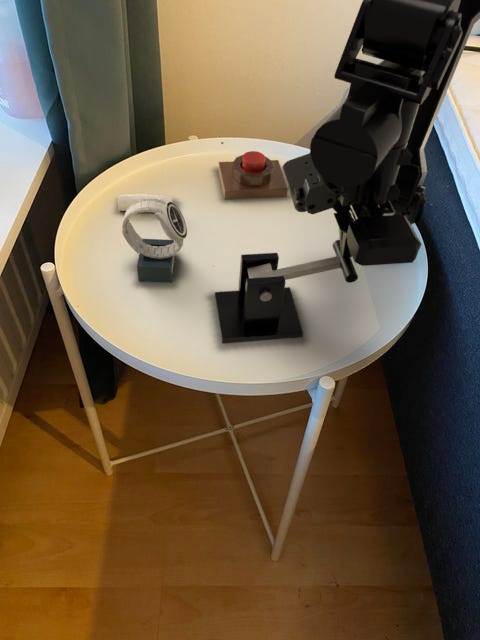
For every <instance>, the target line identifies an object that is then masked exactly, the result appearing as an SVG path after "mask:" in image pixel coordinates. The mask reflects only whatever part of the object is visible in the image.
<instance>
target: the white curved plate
mask: <svg viewBox="0 0 480 640" xmlns="http://www.w3.org/2000/svg"><path fill="white" fill-rule="evenodd" d="M147 198H152V199H162V200H165V201H166V202H169V201H170V202H173V198H172V197H170V196H167V195H161V194H149V193H124V194H120V195H118V196H117V207H118V211H119V212H126V210H127V209H128V207H129V206H130V205H132V204H133V203H134V202H136V201H138V200H141V199H147ZM149 213H152V212H151V211H150V212H149Z"/></svg>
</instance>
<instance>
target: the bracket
mask: <svg viewBox="0 0 480 640" xmlns="http://www.w3.org/2000/svg"><path fill="white" fill-rule="evenodd" d="M279 259H280V256H279V253H278V252H267V253H266V252H264V253H247V254H241V255H240V264H239V276H238V277H239V278H238V290H229V291H227V290H226V291H215V292H214V302H215V308H216V314H217V320H218V328H219V333H220V339H221V344H231V343H232V344H233V343H235V344H236V343H247V342H258V341H269V340H270V341H271V340H272V341H273V340H284V339H297V338H303V335H304V331H303V328H302V324H301V321H300V317H299V314H298V311H297V307H296V303H295V300H294V297H293V293H292V291H291V287H290V286H288V287H286V280H285V278H284V276H278V277H262V278H249V275H248V270H247V268H251V267H255V266H260V265H264V264H269V263H270V264H271V267H272V271H273V270H277V269H279V268H278V266H279Z"/></svg>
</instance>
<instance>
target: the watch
mask: <svg viewBox="0 0 480 640" xmlns="http://www.w3.org/2000/svg"><path fill="white" fill-rule="evenodd" d="M150 211H151V212H150ZM140 213H154V216H155V218H156V219H157V220H158V221H159V223H160V226H161V228H162V230H163V232H164V233H165V235H166V236H167V238H168V239H161V238H142V237H141V236H140V234H138V232H137V231H136V230H135V228H134V227H133V224H132V222H130V218H131V217H133V216H134V215H137V214H140ZM121 229H122V230H121V234H122V236H123V238H124V239H125V241H126V243H127V244H128V245H129V247H131V248H132V250H133V251H134V252H136V253H137V254H138V260H137V264H136V269H137V271H136V272H137V278H138V282H142V283H143V282H144V283H145V282H147V283H169V284H172V281H173V276H174V275H173V274H174V267H175V266H174V265H175V257H176V254H177V253H179V252H180V251H181V249H182V247H183V246H184V239H186V238H187V236H188V227H187V223H186V220H185V217H184V215H183V212H182V211H181V210H180V208H179V207H178V206H177V205H176V203H174V202H173V201H172V202H170V201H169V202H166V201H165V200H162V199H152V198H147V199H141V200H138V201H136V202H134V203H133V204H132V205H130V206H129V207H128V209H127V210H126V211H124V217H123V221H122V228H121Z"/></svg>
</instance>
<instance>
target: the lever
mask: <svg viewBox="0 0 480 640" xmlns="http://www.w3.org/2000/svg"><path fill="white" fill-rule="evenodd" d="M332 248H333V251H334V253H335V256H331V257H327V258H323V259H318V260H313V261H309V262H305V263H300V264H296V265H291V266H287V267H282V268H277V270H273V271H272V267H271V264H270V263H269V264H264V265H260V266H255V267H251V268H247V270H248V275H249V278H262V277H278V276H284V278H285V281H287V280H291V279H297V278H301V277H305V276H310V275H315V274H319V273H324V272H328V271H329V272H330V271H334V270H337V269H341V272H342V273H343V274H342V275H343V277H344V280H345V282H347V283H349V284H350V283H351V284H353V283H355V282H356V281H357V280H358V279H359V276H358V273H357V270H356V268H355V266H354V263H353V260H352V257H351V258H343V257H342V255H341V249H340V239H336V240H334V242H333V243H332Z"/></svg>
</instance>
